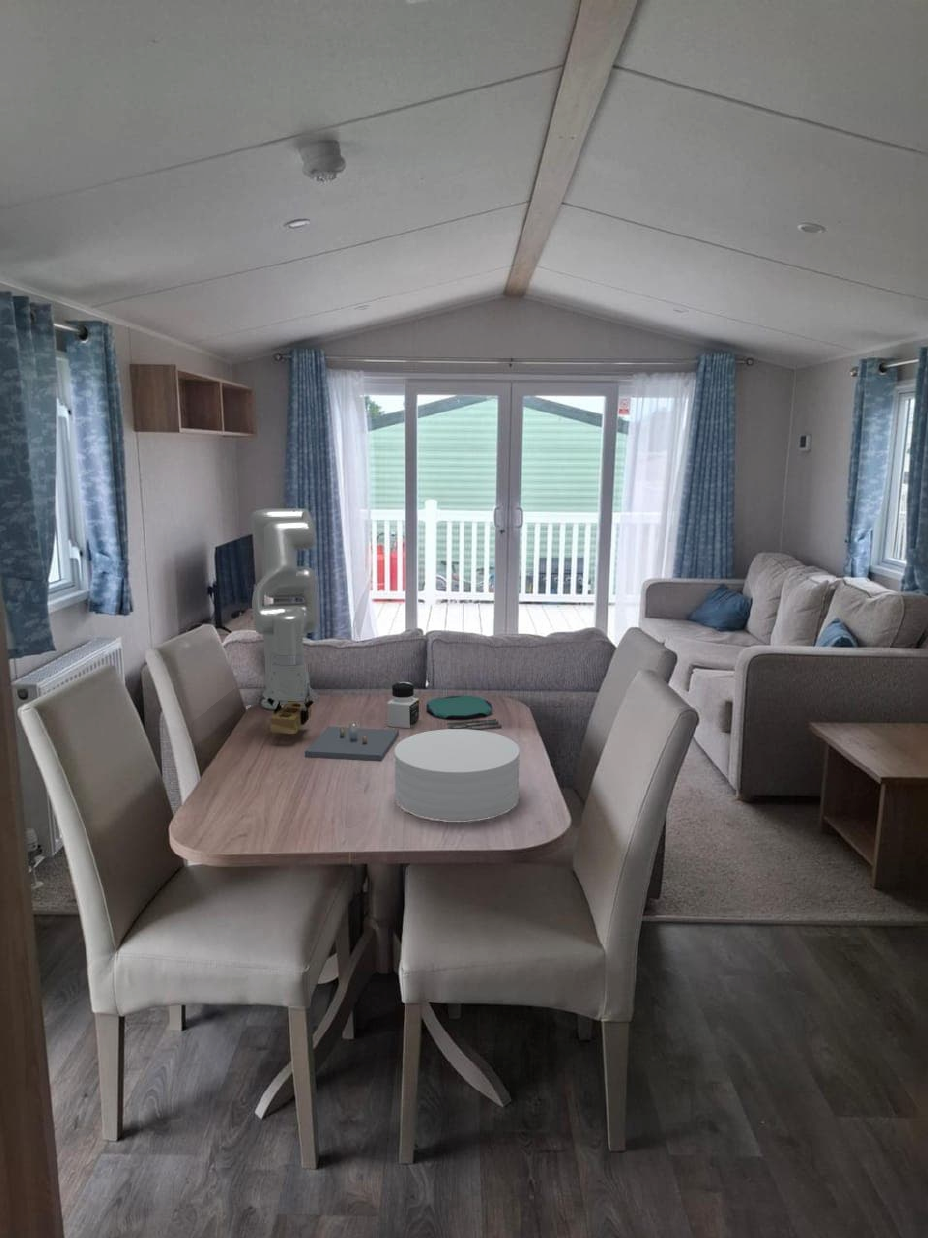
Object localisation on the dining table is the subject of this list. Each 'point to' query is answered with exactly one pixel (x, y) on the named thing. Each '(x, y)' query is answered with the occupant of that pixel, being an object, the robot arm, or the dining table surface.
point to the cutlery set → (462, 710)
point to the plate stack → (457, 774)
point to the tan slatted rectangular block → (288, 718)
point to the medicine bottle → (402, 706)
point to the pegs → (353, 733)
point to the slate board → (352, 744)
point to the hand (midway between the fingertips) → (291, 721)
